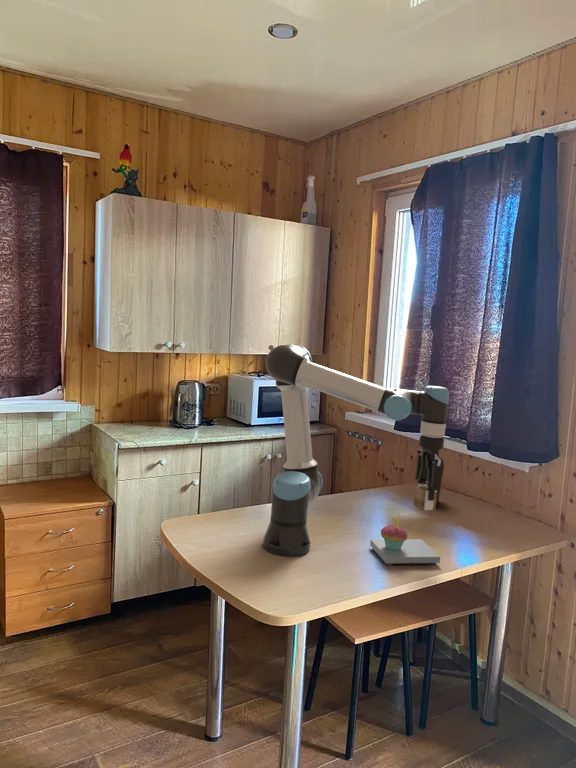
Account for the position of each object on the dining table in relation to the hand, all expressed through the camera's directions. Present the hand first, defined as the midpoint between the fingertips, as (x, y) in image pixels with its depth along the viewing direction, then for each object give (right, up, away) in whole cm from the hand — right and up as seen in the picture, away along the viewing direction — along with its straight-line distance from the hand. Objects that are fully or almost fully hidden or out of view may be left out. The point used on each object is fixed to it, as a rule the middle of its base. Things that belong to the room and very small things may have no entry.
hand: (424, 506), depth 187 cm
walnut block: (0, 0, 0) cm, 0 cm away
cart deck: (-6, -16, +1) cm, 18 cm away
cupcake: (-10, -13, 0) cm, 17 cm away
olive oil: (+16, -11, +64) cm, 67 cm away
